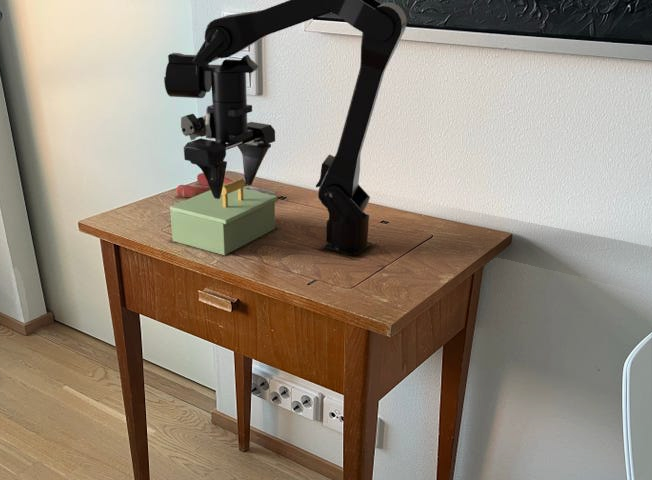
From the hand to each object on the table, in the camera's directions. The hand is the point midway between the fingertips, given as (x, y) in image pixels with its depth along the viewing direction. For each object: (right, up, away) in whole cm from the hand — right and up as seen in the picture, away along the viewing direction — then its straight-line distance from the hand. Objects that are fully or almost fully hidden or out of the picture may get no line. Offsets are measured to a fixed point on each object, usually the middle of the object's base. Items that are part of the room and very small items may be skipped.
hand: (233, 191), depth 129 cm
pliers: (-4, +4, +24) cm, 25 cm away
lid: (-2, -2, +2) cm, 3 cm away
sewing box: (-2, -7, +5) cm, 9 cm away
